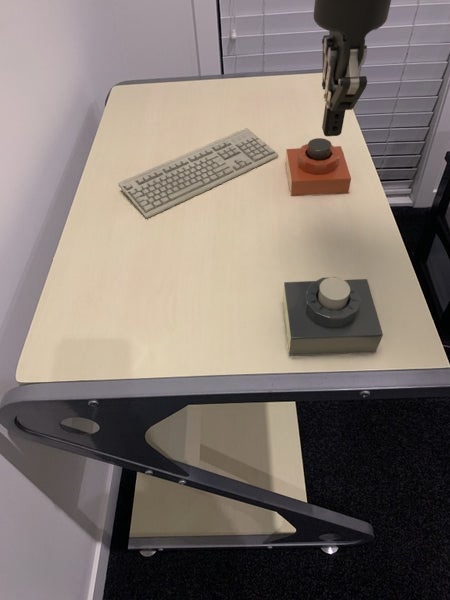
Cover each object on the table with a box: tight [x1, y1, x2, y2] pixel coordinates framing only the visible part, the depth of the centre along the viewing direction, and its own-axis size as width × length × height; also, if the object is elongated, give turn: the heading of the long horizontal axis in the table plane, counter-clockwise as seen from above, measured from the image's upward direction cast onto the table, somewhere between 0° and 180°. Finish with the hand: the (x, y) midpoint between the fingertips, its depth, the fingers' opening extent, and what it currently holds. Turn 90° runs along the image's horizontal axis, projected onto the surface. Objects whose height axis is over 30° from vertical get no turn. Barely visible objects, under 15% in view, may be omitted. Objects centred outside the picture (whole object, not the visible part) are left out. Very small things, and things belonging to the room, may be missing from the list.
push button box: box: [282, 276, 384, 356], centre depth 55 cm, size 11×9×6 cm
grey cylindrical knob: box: [318, 276, 350, 310], centre depth 52 cm, size 4×4×2 cm
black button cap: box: [307, 137, 333, 161], centre depth 74 cm, size 4×4×2 cm
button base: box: [285, 143, 352, 197], centre depth 76 cm, size 10×10×5 cm
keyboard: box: [117, 127, 279, 219], centre depth 80 cm, size 29×10×2 cm, turn 125°
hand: (331, 132), depth 55 cm, fingers closed
